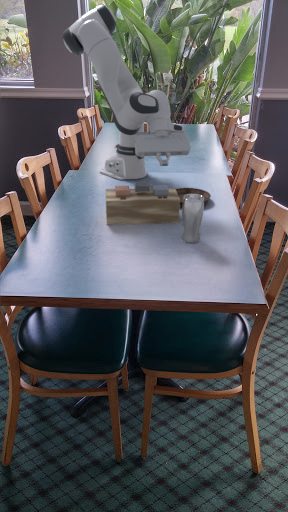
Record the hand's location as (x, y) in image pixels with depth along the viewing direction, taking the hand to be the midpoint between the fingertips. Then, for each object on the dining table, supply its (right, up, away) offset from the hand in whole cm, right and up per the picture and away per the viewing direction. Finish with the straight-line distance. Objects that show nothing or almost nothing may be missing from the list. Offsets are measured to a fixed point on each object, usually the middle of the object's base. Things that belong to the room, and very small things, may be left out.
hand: (164, 165), depth 166 cm
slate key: (-1, -10, +1) cm, 10 cm away
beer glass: (+8, -28, -13) cm, 32 cm away
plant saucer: (+11, -11, +19) cm, 25 cm away
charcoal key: (-8, -9, -1) cm, 12 cm away
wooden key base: (-8, -19, +3) cm, 21 cm away
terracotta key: (-15, -10, -1) cm, 18 cm away
